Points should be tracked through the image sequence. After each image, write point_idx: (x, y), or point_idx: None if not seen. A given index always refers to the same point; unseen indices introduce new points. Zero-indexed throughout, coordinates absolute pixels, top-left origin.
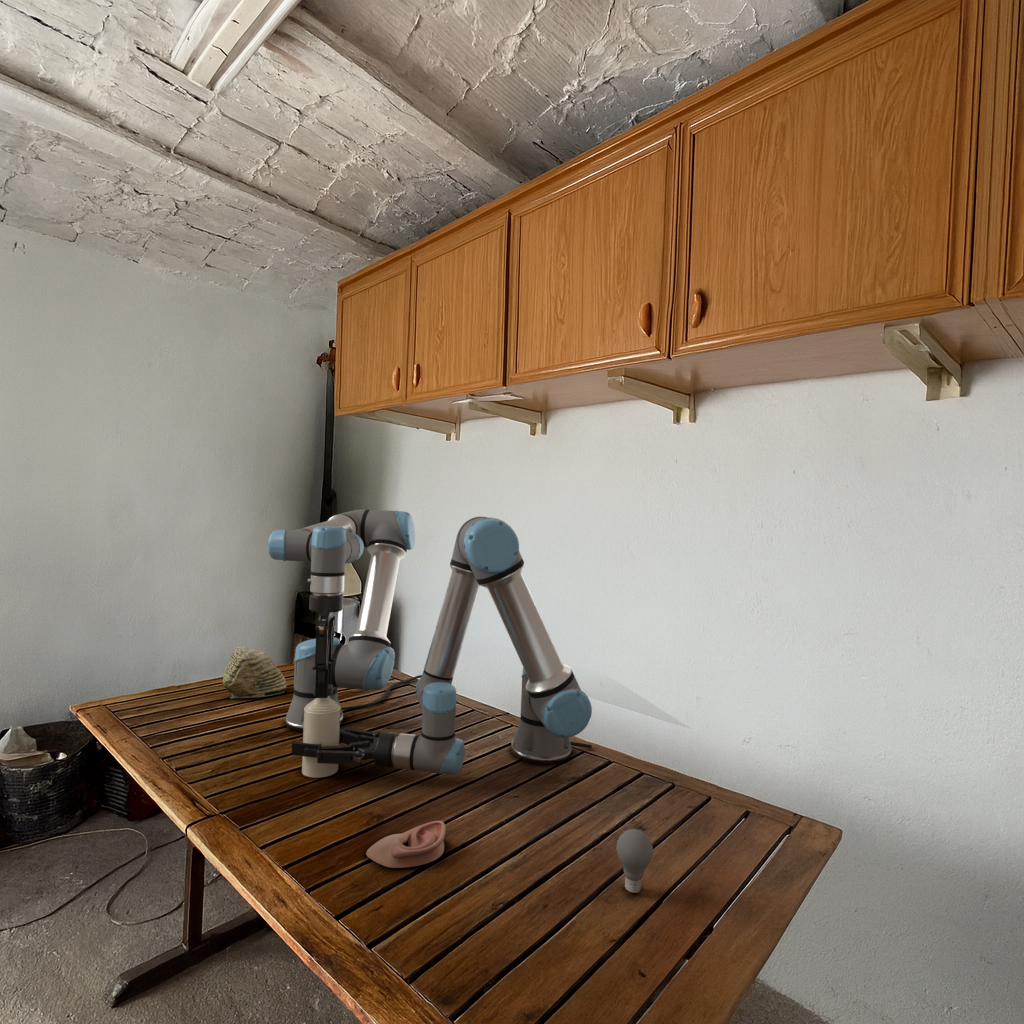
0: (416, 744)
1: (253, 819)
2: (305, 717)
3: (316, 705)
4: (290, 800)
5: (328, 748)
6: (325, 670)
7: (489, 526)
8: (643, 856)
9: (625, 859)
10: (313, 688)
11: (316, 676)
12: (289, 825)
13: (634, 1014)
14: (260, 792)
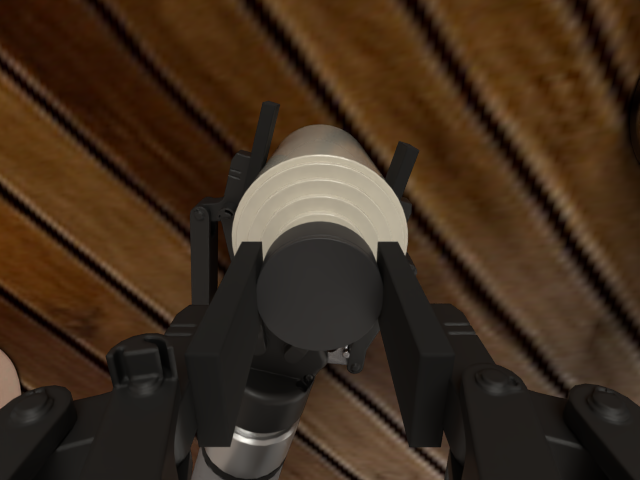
0: (208, 470)
1: (17, 49)
2: (270, 164)
3: (263, 232)
4: (134, 127)
5: (225, 237)
6: (198, 420)
7: None
8: None
9: None
10: (303, 237)
11: (203, 319)
12: (9, 151)
13: None
14: (172, 27)
